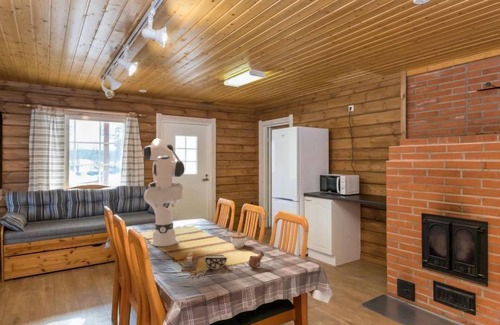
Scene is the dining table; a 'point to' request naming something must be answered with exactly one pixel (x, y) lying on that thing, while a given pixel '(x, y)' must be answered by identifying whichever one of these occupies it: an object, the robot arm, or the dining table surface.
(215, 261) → the food container
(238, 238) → the lidded jar
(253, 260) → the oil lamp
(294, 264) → the dining table surface
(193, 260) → the wooden board
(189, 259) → the turner
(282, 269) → the dining table surface
